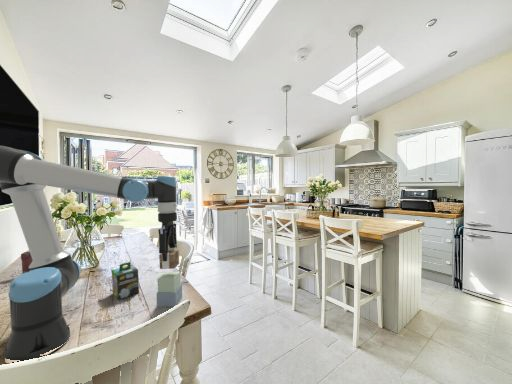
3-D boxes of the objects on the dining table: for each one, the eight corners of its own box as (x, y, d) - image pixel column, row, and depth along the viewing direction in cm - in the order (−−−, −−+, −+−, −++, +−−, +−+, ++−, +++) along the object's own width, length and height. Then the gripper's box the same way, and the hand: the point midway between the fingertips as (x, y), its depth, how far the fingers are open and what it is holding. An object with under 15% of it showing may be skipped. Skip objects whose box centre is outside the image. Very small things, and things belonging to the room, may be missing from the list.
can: (20, 277, 127) (18, 253, 127) (35, 273, 133) (33, 250, 132) (24, 279, 124) (23, 254, 124) (39, 275, 130) (38, 251, 129)
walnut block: (174, 268, 95) (173, 254, 95) (159, 268, 95) (159, 254, 95) (179, 263, 101) (178, 250, 101) (165, 263, 101) (165, 250, 101)
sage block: (174, 292, 95) (174, 278, 95) (157, 292, 95) (157, 278, 95) (180, 284, 102) (180, 271, 102) (165, 284, 102) (164, 271, 102)
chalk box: (133, 287, 113) (132, 257, 113) (139, 293, 107) (138, 262, 106) (111, 293, 107) (110, 262, 106) (117, 300, 100) (116, 267, 100)
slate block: (175, 306, 95) (175, 292, 94) (156, 307, 95) (156, 292, 94) (182, 297, 103) (181, 284, 102) (164, 297, 103) (164, 284, 102)
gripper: (167, 214, 88) (169, 273, 89) (183, 209, 107) (184, 258, 108) (147, 215, 88) (150, 274, 89) (167, 209, 107) (169, 258, 108)
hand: (169, 265), depth 98 cm, fingers closed on walnut block, 6 cm apart
